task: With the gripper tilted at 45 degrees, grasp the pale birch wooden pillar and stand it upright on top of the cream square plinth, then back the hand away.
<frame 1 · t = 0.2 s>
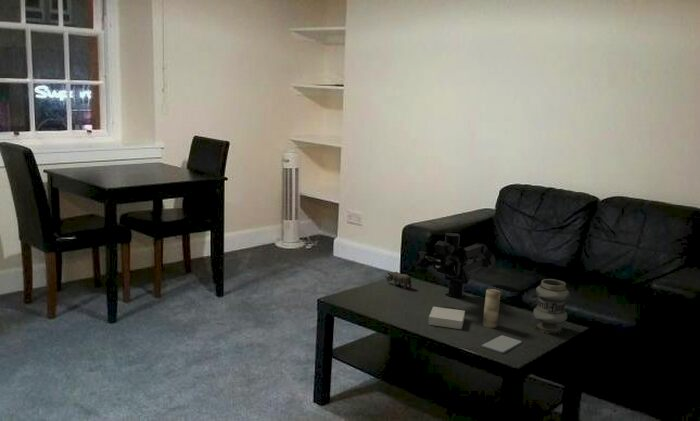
hand: (426, 267, 257), 17 cm above the table, tool horizontal, fingers open, 9 cm apart
birch pillar: (489, 325, 247), on the table
cream plinth: (446, 321, 248), on the table
smartphone: (501, 346, 229), on the table
apothecary jar: (548, 329, 247), on the table
rhino figurine: (397, 286, 289), on the table
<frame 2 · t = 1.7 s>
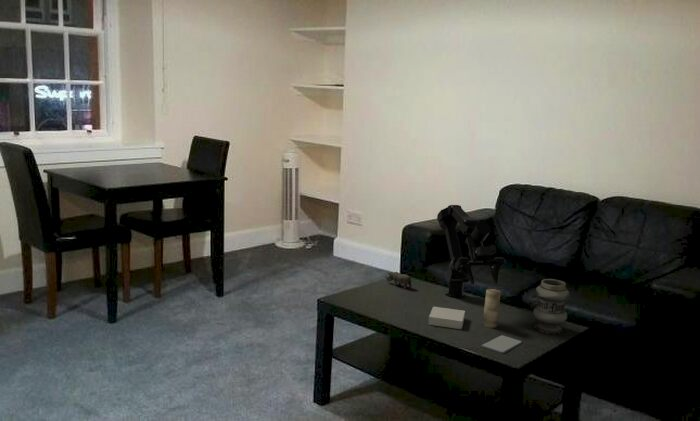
hand: (484, 283, 252), 13 cm above the table, tool tilted 45°, fingers open, 9 cm apart
nothing on the table moved.
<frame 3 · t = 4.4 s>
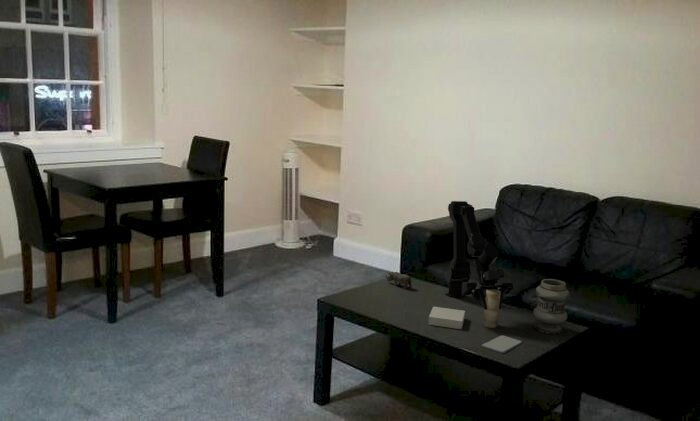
hand: (493, 309, 245), 7 cm above the table, tool tilted 45°, fingers closed on birch pillar, 5 cm apart
birch pillar: (489, 325, 247), on the table, touching gripper
everything else where it was.
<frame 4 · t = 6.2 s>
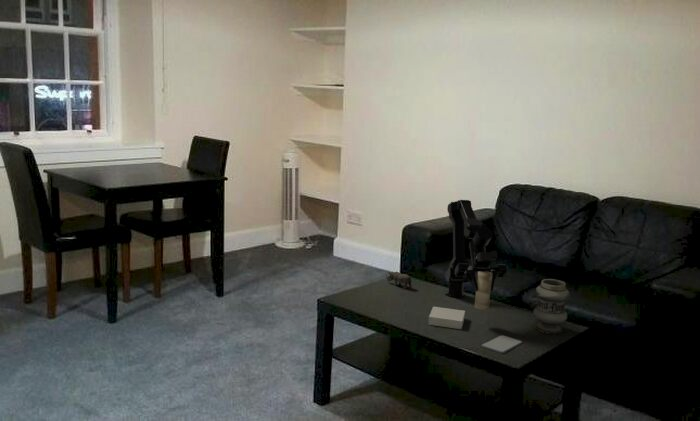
hand: (484, 291, 243), 13 cm above the table, tool tilted 45°, fingers closed on birch pillar, 5 cm apart
birch pillar: (481, 307, 246), point 7 cm above the table, touching gripper
everything else where it was.
when the fingers open (11 cm above the table, at t = 8.0 s): birch pillar drops 1 cm, resting on cream plinth.
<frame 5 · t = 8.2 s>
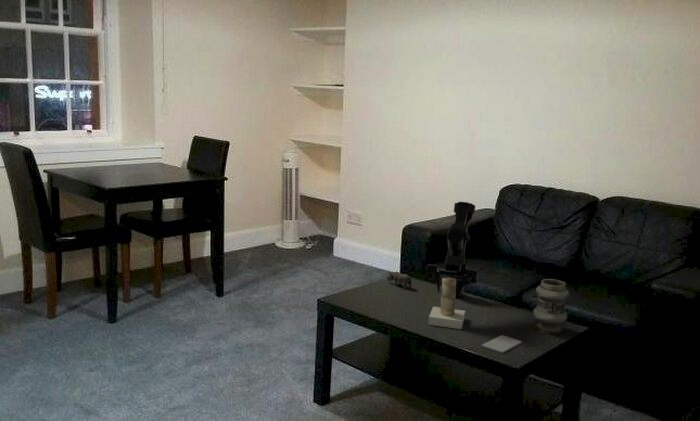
hand: (448, 293, 245), 11 cm above the table, tool tilted 45°, fingers open, 7 cm apart
birch pillar: (447, 313, 248), point 3 cm above the table, touching cream plinth
everything else where it was.
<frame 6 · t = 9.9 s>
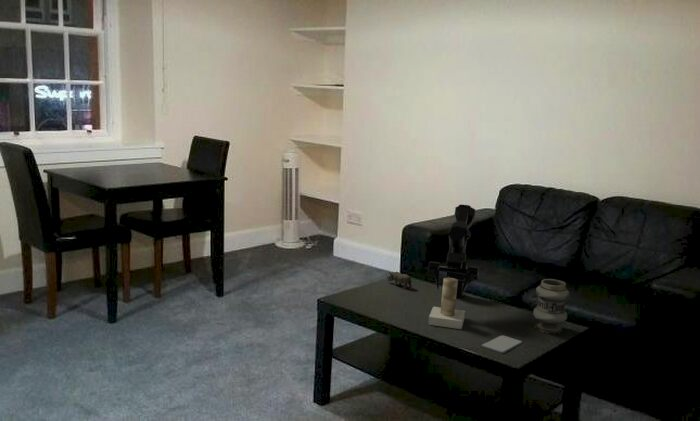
hand: (450, 290, 250), 11 cm above the table, tool tilted 45°, fingers open, 9 cm apart
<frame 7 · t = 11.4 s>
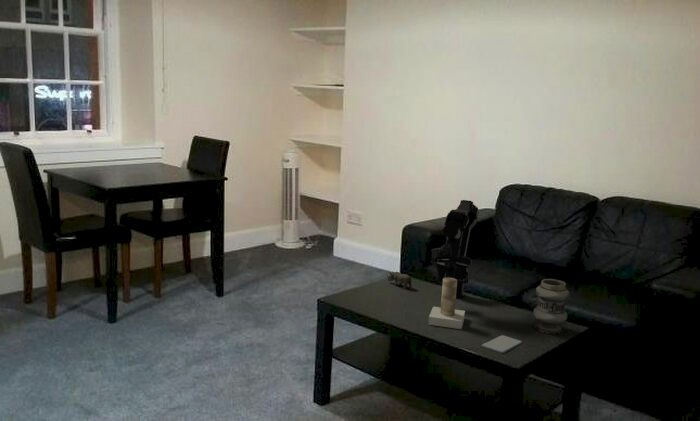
hand: (447, 282, 258), 11 cm above the table, tool tilted 20°, fingers open, 9 cm apart
nothing on the table moved.
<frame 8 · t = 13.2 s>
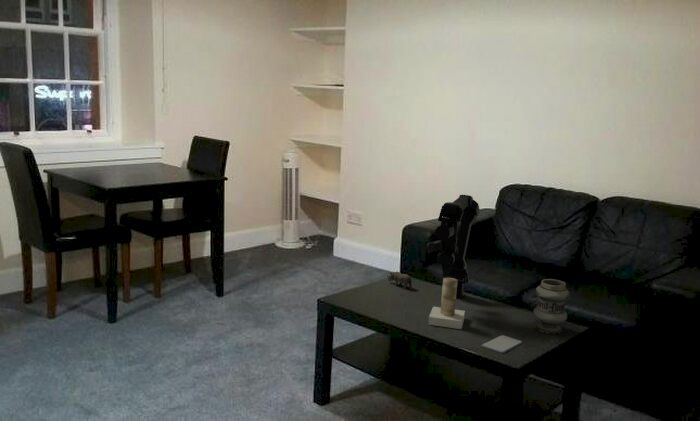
hand: (446, 274, 263), 13 cm above the table, tool pointing down, fingers open, 9 cm apart
nothing on the table moved.
at the end: birch pillar 0.0 cm off-centre on the cream plinth, point 3.0 cm above the cream plinth's base; birch pillar tilted 1°; the gripper is holding nothing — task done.
